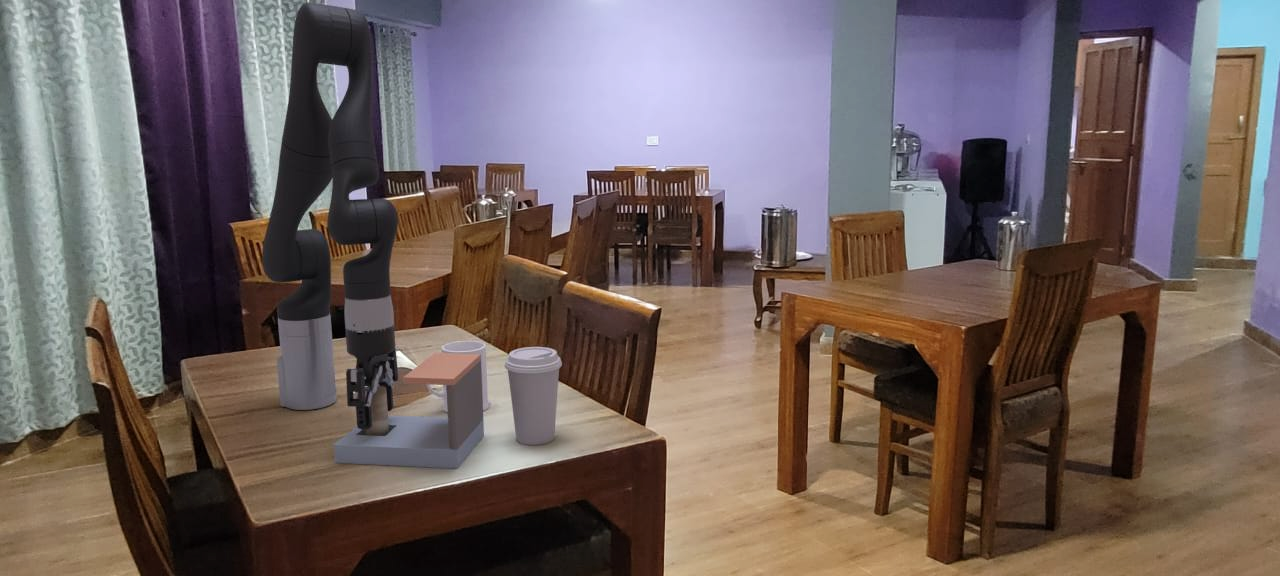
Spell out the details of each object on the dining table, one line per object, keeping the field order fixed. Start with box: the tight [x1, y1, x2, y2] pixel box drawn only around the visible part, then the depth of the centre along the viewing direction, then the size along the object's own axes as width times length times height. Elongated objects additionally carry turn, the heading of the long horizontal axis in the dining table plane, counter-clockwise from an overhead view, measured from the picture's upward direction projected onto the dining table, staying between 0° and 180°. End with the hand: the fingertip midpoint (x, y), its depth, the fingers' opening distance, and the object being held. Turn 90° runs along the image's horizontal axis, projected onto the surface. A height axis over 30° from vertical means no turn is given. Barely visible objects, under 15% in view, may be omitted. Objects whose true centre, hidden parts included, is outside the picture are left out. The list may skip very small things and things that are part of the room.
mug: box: [425, 340, 490, 414], centre depth 157 cm, size 12×8×12 cm
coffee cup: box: [504, 346, 563, 446], centre depth 142 cm, size 10×10×15 cm
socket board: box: [333, 352, 485, 469], centre depth 138 cm, size 20×14×14 cm
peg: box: [365, 386, 389, 436], centre depth 139 cm, size 4×4×10 cm
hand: (375, 419), depth 139 cm, fingers open, 8 cm apart
